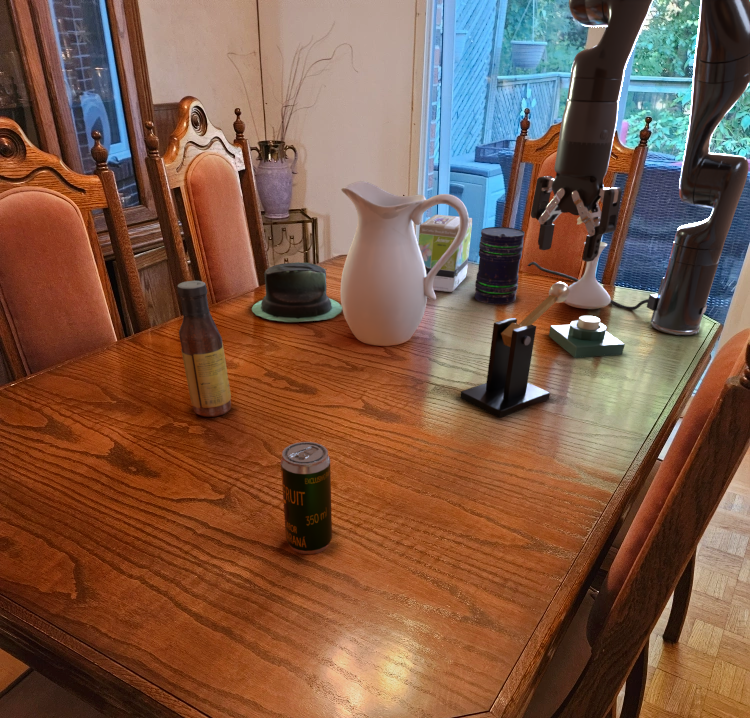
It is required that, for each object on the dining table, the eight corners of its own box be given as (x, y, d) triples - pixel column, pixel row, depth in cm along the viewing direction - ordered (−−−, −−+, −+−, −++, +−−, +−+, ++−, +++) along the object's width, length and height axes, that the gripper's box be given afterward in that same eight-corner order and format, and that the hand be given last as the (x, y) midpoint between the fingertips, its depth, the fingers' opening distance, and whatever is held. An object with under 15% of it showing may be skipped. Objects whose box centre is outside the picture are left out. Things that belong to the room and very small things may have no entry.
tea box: (454, 293, 160) (459, 228, 152) (414, 288, 162) (417, 224, 154) (467, 277, 172) (473, 216, 164) (429, 273, 174) (433, 212, 166)
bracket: (509, 381, 117) (519, 309, 110) (549, 399, 111) (562, 325, 104) (459, 398, 111) (467, 323, 104) (499, 418, 105) (509, 340, 98)
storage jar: (474, 290, 162) (481, 225, 154) (515, 293, 161) (524, 227, 153) (473, 303, 154) (480, 235, 145) (516, 305, 153) (526, 237, 144)
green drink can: (309, 522, 81) (305, 435, 74) (341, 540, 78) (340, 451, 71) (276, 543, 78) (269, 453, 71) (309, 562, 75) (305, 471, 68)
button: (573, 324, 132) (575, 316, 131) (592, 323, 133) (594, 315, 132) (583, 331, 129) (584, 322, 128) (602, 330, 130) (603, 321, 129)
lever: (559, 291, 110) (556, 276, 107) (574, 296, 108) (572, 280, 105) (502, 345, 107) (497, 330, 105) (517, 351, 105) (512, 336, 103)
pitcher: (327, 343, 131) (323, 189, 115) (360, 318, 144) (361, 176, 128) (443, 363, 123) (456, 202, 108) (467, 334, 136) (482, 186, 121)
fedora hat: (327, 287, 159) (360, 315, 144) (264, 331, 158) (290, 364, 144) (296, 231, 149) (328, 255, 134) (228, 279, 148) (253, 308, 134)
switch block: (548, 336, 137) (551, 316, 134) (593, 333, 139) (597, 314, 136) (574, 358, 127) (578, 337, 125) (622, 354, 129) (627, 334, 127)
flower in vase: (569, 295, 161) (590, 181, 147) (616, 304, 155) (642, 187, 141) (547, 308, 152) (567, 189, 138) (596, 318, 146) (621, 195, 132)
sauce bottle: (239, 405, 107) (226, 280, 96) (219, 421, 103) (203, 292, 91) (203, 398, 109) (186, 275, 98) (182, 414, 104) (162, 287, 93)
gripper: (645, 141, 92) (618, 261, 101) (563, 131, 101) (546, 242, 111) (612, 143, 88) (587, 268, 97) (530, 134, 98) (515, 248, 107)
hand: (565, 254), depth 104 cm, fingers open, 8 cm apart
